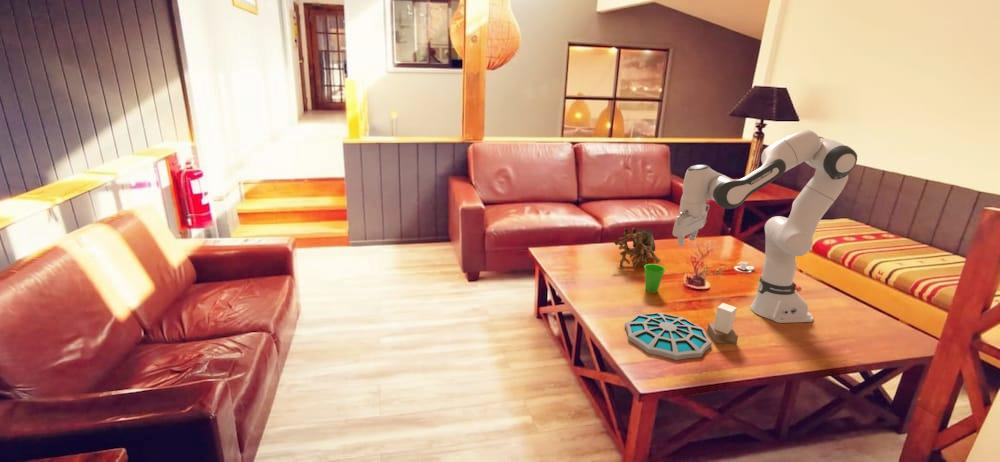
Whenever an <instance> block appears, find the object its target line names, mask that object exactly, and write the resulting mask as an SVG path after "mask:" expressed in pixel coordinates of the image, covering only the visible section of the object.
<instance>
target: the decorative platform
mask: <svg viewBox="0 0 1000 462" xmlns="http://www.w3.org/2000/svg"><path fill="white" fill-rule="evenodd" d="M624 328H625V330H626V333H627V334H626V335H627V340H628V342H631V344H634V345H636V346H638V348H640V349H642V350H643V351H644V352H645V353H646V354H649V355H653V356H654V355H655V356H659V357H664V358H668V359H670V360H674V361H679V360H685V359H686V360H687V359H697V358H702V357H703V355H704V354H705V352H707V350H709V349H710V348H711V347H712V344H713V341H711V338H709V337H708V334H707V333H706V330H705V328H703V327H701V326H699V325H697V324H695V323H693V322H692V321H691V320H688V319H686V318H685V317H683V316H682V317H681V316H676V315H670V314H666V313H663V312H653V313H652V312H651V313H642V314H641V313H638V314H637V313H636V315H635V316H634V317H632V318H631V319H630V320H628V321H626V322H625V323H624Z"/></svg>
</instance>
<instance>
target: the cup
mask: <svg viewBox="0 0 1000 462" xmlns="http://www.w3.org/2000/svg"><path fill="white" fill-rule="evenodd" d="M643 268H644V282H645V284H644V286H645V287H644V288H645V291H646V290H647V291H646V292H648V293H651V292H652V294H654V293H653V292H655V293H657V292H658V291H659V287H660V286H661V282H662V279H663V275H664V273H665V272H666V268H665V267H664V266H663V265H660V264H658V263H647V264H646V265H645V266H643Z"/></svg>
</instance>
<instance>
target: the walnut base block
mask: <svg viewBox="0 0 1000 462" xmlns="http://www.w3.org/2000/svg"><path fill="white" fill-rule="evenodd" d="M714 323H715V322H712V323H711V322H708V324H707V330H706V331H707V335H709V337H710V340H712V343H716V344H718V343H719V344H730V345H731V344H732V345H737V342H738V338H739V335H738V333H737V332H736V330H735V329H734V328H733V329H732V330H731V331H730V332H729V333H728V334H725V333H723V332H720V331H718V330H715V329H714Z"/></svg>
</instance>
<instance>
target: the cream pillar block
mask: <svg viewBox="0 0 1000 462" xmlns="http://www.w3.org/2000/svg"><path fill="white" fill-rule="evenodd" d="M737 310H738V307H736V306H734V305H730V304H727V303H725V302H722V303H721V304H720V305H719V306H717V308H716V313H715V314H716V315H715V320H714V322H713V323H714V329H715V330H718V331H720V332H723V333H725V334H728V333H729V332H730V331H731V330H732V329H734V325H735V318H736V314H737Z"/></svg>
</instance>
